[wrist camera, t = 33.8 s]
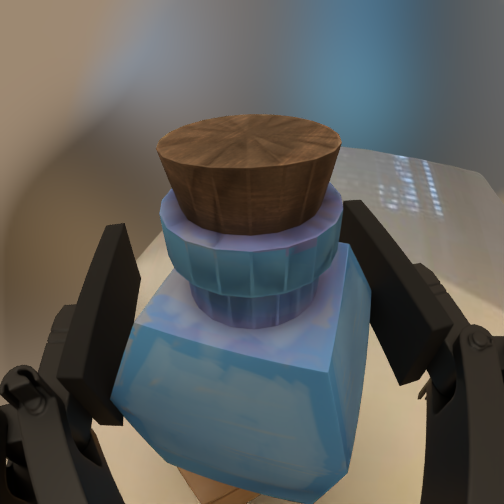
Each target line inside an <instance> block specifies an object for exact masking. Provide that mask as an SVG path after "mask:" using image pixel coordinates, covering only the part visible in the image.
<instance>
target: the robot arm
mask: <svg viewBox="0 0 504 504" xmlns="http://www.w3.org/2000/svg"><path fill="white" fill-rule="evenodd" d="M339 242H341V243H347V244H349V245H350V247H351V249H352V251H353V253H354V255H355V257H356V259H357V261H358V263H359V265H360V267H361V269H362V271H363V273H364V276H365V278H366V280H367V282H368V284H369V286H370V288H371V309H370V324H371V326H372V328H373V330H374V332H375V334H376V336H377V338H378V340H379V342H380V344H381V346H382V349H383V351H384V353H385V355H386V357H387V359H388V361H389V364H390V366H391V368H392V370H393V372H394V374H395V377H396V379H397V381H398V383H399V386H401V385H404V384H408V383H411V382H414V381H417V380H419V379H420V378H421V376H422V375H423V373H424V372H425V371H426V369H427V371H428V373H429V375H430V379H429V380H428V382H427V383H426V384H425V386H424V387H423V388H422V390H421V391H420V392H419V395H418V399H421V398H422V397H423V396H424V394H425V393H427V396H426V398H425V400H427V421H426V449H425V464H424V476H423V486H422V494H421V502H420V504H504V336H492V335H491V334H490V333H489V332H488V330H486V329H485V328H483V327H482V326H478V325H475V324H473V325H470V323H469V322H468V321H467V319H466V318H465V316H464V315H463V313H462V312H461V310H460V309H459V307H458V306H457V305H456V303H455V302H454V300H453V299H452V298H451V296H450V295H449V293H447V292H446V289H445V288H444V287H443V285H442V284H440V281H439V280H438V278H437V277H436V276H435V274H434V273H433V272H432V271H431V270H429V269H428V268H427V267H425V266H424V265H423V264H421V263H418V264H412V263H411V262H410V260H409V259H408V258H407V256H406V255H405V254H404V252H403V251H402V250H401V248H400V247H399V246H398V245H397V243H396V242H395V241H394V239H393V238H392V237H391V236H390V234H389V233H388V232H387V231H386V229H385V228H384V227H383V226H382V224H381V223H380V222H379V221H378V220H377V218H376V217H375V216H374V215H373V214H372V212H371V211H370V210H369V209H368V208H367V206H366V205H365V204H364V203H363V202H362V201H361V200H350V201H343V215H342V222H341V229H340V236H339ZM140 282H141V277H140V273H139V270H138V267H137V264H136V261H135V257H134V254H133V251H132V247H131V244H130V241H129V237H128V234H127V230H126V226H125V223H121V224H115V225H108V226H106V228H105V230H104V232H103V235H102V237H101V239H100V242H99V245H98V247H97V249H96V252H95V254H94V257H93V260H92V262H91V265H90V268H89V270H88V273H87V276H86V278H85V281H84V284H83V287H82V290H81V293H80V296H79V298H78V301H77V304H75V305H64V307H63V308H62V309H61V310H60V312H59V313H58V314H57V316H56V317H55V319H54V322H53V325H52V328H51V333H50V334H49V337H48V340H47V341H48V343H47V344H46V347H45V350H44V353H43V356H42V360H41V363H40V367H39V370H38V373H37V371H35V370H34V369H33V368H32V367H31V366H27V365H20V366H16V367H14V368H13V369H11V370H10V371H9V372H8V373H7V374H6V375H5V376H4V378H3V380H2V382H1V384H0V395H1V396H2V397H3V398H4V399H5V400H7V402H9V403H10V404H6V405H2V406H0V504H125V503H124V501H123V499H122V497H121V494H120V492H119V490H118V488H117V486H116V483H115V481H114V479H113V477H112V474H111V472H110V469H109V467H108V465H107V462H106V460H105V457H104V455H103V452H102V449H101V447H100V444H99V441H98V439H97V436H96V434H95V432H94V431H93V429H92V428H91V424H92V418H93V419H94V420H95V421H96V422H97V423H98V424H100V425H111V426H123V417H124V416H123V415H122V413H121V412H120V411H119V410H118V409H117V407H116V406H115V405H114V404H113V403H112V401H111V400H110V397H111V394H112V390H113V387H114V383H115V380H116V377H117V373H118V370H119V367H120V364H121V360H122V357H123V354H124V351H125V348H126V345H127V342H128V339H129V336H130V333H131V330H132V327H133V324H134V318H135V312H136V305H137V299H138V293H139V288H140ZM6 458H7V459H8V462H7V465H6Z"/></svg>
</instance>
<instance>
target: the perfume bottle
mask: <svg viewBox="0 0 504 504" xmlns="http://www.w3.org/2000/svg"><path fill="white" fill-rule="evenodd" d="M341 143H342V142H341V139H340V136H339V134H338V133H336V132H335V131H333V130H332V129H330V128H329V127H327V126H325V125H322V124H320V123H317V122H314V121H310V120H305V119H301V118H296V117H289V116H281V115H262V114H261V115H259V114H256V115H255V114H249V115H235V116H225V117H218V118H213V119H207V120H202V121H199V122H195V123H192V124H188V125H185V126H183V127H180V128H178V129H176V130H173V131H171V132H169V133H168V134H167V135H165V136H164V137H163V138H161V139H160V140H159V142H158V145H157V148H156V150H157V152H158V155H159V157H160V160H161V162H162V165H163V167H164V170H165V172H166V174H167V177H168V180H169V182H170V184H171V187H172V188H171V190H170V191H169V192H168V193H167V194H166V196H165V197H164V198H163V200H162V202H161V208H160V219H161V223H162V228H163V233H164V237H165V242H166V246H167V251H168V255H169V257H170V259H171V262H172V264H173V266H174V269H173V270H172V271H171V273H170V274H169V275H168V277H167V278H166V279H165V281H164V282H163V283H162V285H161V286H160V287H159V289H158V290H157V291H156V293H155V294H154V296H153V297H152V298H151V300H150V301H149V302H148V304H147V305H146V306H145V308H144V309H143V311H142V312H141V313H140V315H139V316H138V318H137V319H136V320H135V322H134V324H133V327H132V330H131V333H130V336H129V339H128V342H127V345H126V348H125V351H124V354H123V357H122V360H121V364H120V367H119V370H118V373H117V377H116V380H115V383H114V387H113V390H112V394H111V397H110V400H111V401H112V403H113V404H114V405H115V406H116V407H117V409H118V410H119V411H120V412H121V413H122V415H123V416H124V417H125V418H126V419H127V421H128V422H129V423H130V424H131V425H132V426H133V427H134V428H135V430H136V431H137V432H138V433H139V434H140V435H141V436H142V437H143V438H144V439H145V440H146V441H147V443H148V444H149V445H150V446H151V447H152V448H153V449H154V450H155V451H156V452H157V453H158V454H159V455H160V456H161V457H162V458H163V459H164V460H165V461H166V462H167V463H170V464H172V465H175V466H177V467H180V468H182V469H185V470H187V471H190V472H192V473H195V474H198V475H201V476H203V477H206V478H209V479H212V480H215V481H218V482H221V483H224V484H227V485H231V486H234V487H237V488H241V489H244V490H248V491H251V492H255V493H259V494H263V495H267V496H271V497H275V498H280V499H284V500H289V501H294V502H299V503H304V504H313V503H314V502H316V501H317V500H318V499H319V498H320V497H321V496H323V495H324V494H325V493H326V492H327V491H328V490H329V489H331V488H332V487H333V486H334V485H335V484H336V483H337V482H338V481H339V480H340V479H342V478H343V477H344V476H345V475H346V474H347V473H348V469H349V464H350V459H351V454H352V449H353V444H354V439H355V433H356V428H357V422H358V416H359V410H360V403H361V396H362V389H363V382H364V374H365V365H366V356H367V346H368V336H369V323H370V309H371V288H370V286H369V284H368V282H367V280H366V278H365V276H364V273H363V271H362V269H361V267H360V265H359V263H358V261H357V259H356V257H355V255H354V253H353V251H352V249H351V247H350V245H349V244H347V243H341V242H339V236H340V229H341V222H342V215H343V204H342V199H341V195H340V193H339V192H338V191H337V190H336V189H335V188H334V186H333V185H332V184H331V183H330V182H329V181H330V178H331V175H332V172H333V169H334V165H335V162H336V159H337V156H338V153H339V150H340V147H341Z"/></svg>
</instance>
